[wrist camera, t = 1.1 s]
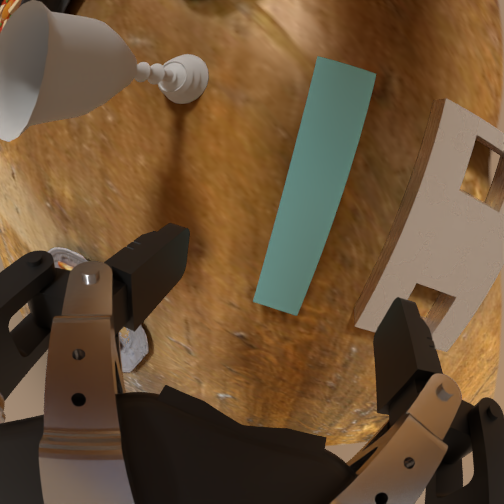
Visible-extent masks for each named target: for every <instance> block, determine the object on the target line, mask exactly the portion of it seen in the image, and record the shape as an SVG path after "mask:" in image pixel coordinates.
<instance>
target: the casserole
mask: <svg viewBox="0 0 504 504" xmlns="http://www.w3.org/2000/svg"><path fill="white" fill-rule="evenodd" d="M29 1H31V0H0V33H1V31H2V29H3V27H4V26H5V24H6V23H7V21H8V20H9V18H10V17H11V15H12V14H13V13H14V12H15V11H16V10H17V9H18V8H19V7H20V6H21V5H22V4H24V3H26V2H29ZM36 1H40V2H42V3H43V4H44V5H45V6H46V7H47V8H48V9H49V10H50V11H51V12H57V13H64V12H65V10H66V8H67V6H68V5H69V3H70V1H71V0H36Z"/></svg>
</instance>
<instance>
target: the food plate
mask: <svg viewBox="0 0 504 504" xmlns="http://www.w3.org/2000/svg"><path fill="white" fill-rule="evenodd" d="M48 252H49V253H50V254H51V255H52V256H53V259H54V265H55V267H56V268H61V269H66V270H72V269H73V268H74V267H75V266H76V265H78V264H80V263H83V262H87V260H86V259H85V258H84V257H83V256H82V255H80V254H78V253H76V252H73V251H72V250H71V251H70V250H68V249H65V248H61V247H59V248H58V247H57V248H52V249H50V250H49V251H48ZM128 330H129V331H130V332H129V334H128V335H129V336H127V335H125V336H127V337H128V338H130V340H129V343H128V340H127V339H128V338H126V339H125V338H122V337H121V336H120V335H121V333H120V332H119V337H120V350H121V361H122V371H123V373H125V372H128V373H130V372H131V371H132V370H133V369H134V368H135V367H136V365H138V363H139V362H140V361H141V360H142V359H143V358H144V357H145V355H146V354H147V353H148V352H149V350H148V348H149V347H148V341H147V336H146V333H145V331H144V329H143V328H142V327H141V325H140V326H139V327H138V328H137V330H136V331H135V332H134V331H132V330H130V329H128V328H127V331H128ZM125 336H124V337H125ZM121 338H122V339H123V341H124V342H123V341H122V339H121ZM126 341H127V343H126ZM124 345H125V347H124ZM131 348H132V349H131ZM143 356H144V357H143Z"/></svg>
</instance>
